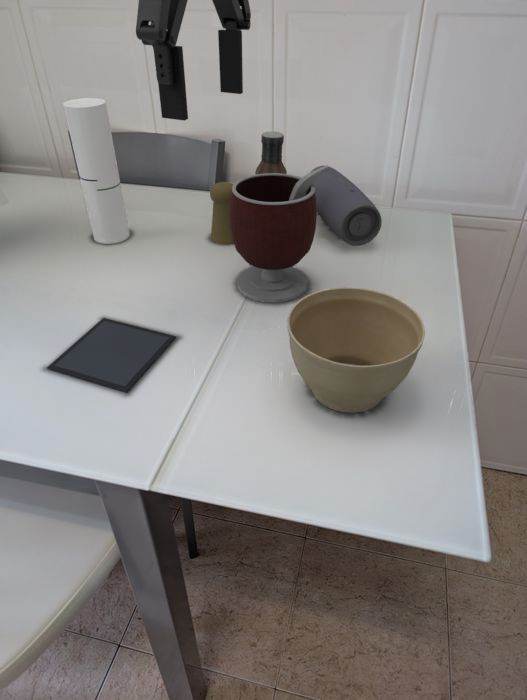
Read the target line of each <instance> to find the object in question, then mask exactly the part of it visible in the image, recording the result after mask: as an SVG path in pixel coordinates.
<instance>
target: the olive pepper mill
mask: <svg viewBox="0 0 527 700" xmlns="http://www.w3.org/2000/svg"><path fill="white" fill-rule="evenodd" d="M233 184H234V183H231V182H228V181H220V182H215V183H214V184H212V186H211V187H210V190H209V196H210V199H211V201H212V216H211V217H212V218H211V229H210V231H211V233H210V240H211V241H212V242H213V243H215V244H218V245H219V244H220V245H231V244H234V242H233V239H232V234H231V229H230V201H231V194H232V186H233Z"/></svg>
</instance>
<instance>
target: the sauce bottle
mask: <svg viewBox="0 0 527 700" xmlns="http://www.w3.org/2000/svg"><path fill="white" fill-rule="evenodd" d="M284 140H285V136H284V134H283V133H282V132H281V131H275V130H273V131H265V132H262V133H261V139H260V141H261V155H260V156H261V161H260V162H259V164H257V165H258V166H257V167H256V169H255V172H254V175H257V174H265V173H280V174H288V172H287V169H286V167H285V164H284V163H283V145H284V142H285V141H284Z"/></svg>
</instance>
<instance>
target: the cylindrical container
mask: <svg viewBox="0 0 527 700" xmlns="http://www.w3.org/2000/svg"><path fill="white" fill-rule="evenodd" d="M62 106H63V111H64V115H65V119H66V123H67V128H68V132H69V136H70V141H71V145H72V149H73V155H74V158H75V162H76V167H77V170H78V176H79V180H80V183H81V189H82V193H83V196H84V202H85V206H86V210H87V214H88V215H87V216H88V219H89V223H90V228H91V231H92V237H93V240H94V241H95V242H96V243H98V244H105V245H109V244H110V245H112V244H118V243H121V242H124V241H125V240H127V239H128V238H129V237H130V228H129V222H128V217H127V211H126V207H125V202H124V195H123V188H122V184H121V178H120V172H119V168H118V162H117V157H116V156H117V155H116V152H115V151H116V150H115V144H114V141H113V140H114V139H113V134H112V130H111V129H112V128H111V122H110V118H109V112H108V106H107V101H106V100H105V99H103V98H99V97H98V98H96V97H84V98H83V97H82V98H75V99H69V100H66V101H64V102H63V103H62Z"/></svg>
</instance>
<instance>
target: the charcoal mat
mask: <svg viewBox="0 0 527 700" xmlns="http://www.w3.org/2000/svg"><path fill="white" fill-rule="evenodd" d="M176 338H177V336H176V335H172V334H169V333H164V332H160V331H157V330H154V329H150V328H145V327H141V326H137V325H133V324H131V323H126V322H122V321H117V320H113V319H110V318H106V317H103V318H101V319H100V320H99V321H98V322H97V323H96V324H95V325H94V326H92V327H91V328H90V329H89V330H88V331H87V332H85V334H83V335H82V336H81V337H79V339H78V340H76V341H75V342H74V343H73V344H72V345H71V346H70V347H68V348H67V349H66V350H65V351H64V352H62V354H60V356H58V357H57V358H56V359H55V360H54V361H53V362H51V363H50V364H49V365H48V366H46V368H47V370H50V371H53V372H56V373H59V374H64V375H66V376H69V377H73V378H76V379H79V380H82V381H86V382H89V383H93V384H96V385H100V386H103V387H106V388H109V389H112V390H115V391H119V392H123V393H126V394H127V393H128V392H130V390H131V389H132V388H133V387H134V386H135V384H137V382H138V381H139V380H140V379H141V378H142V377H143V375H145V373H146V372H147V371H148V370H149V369H150V368H151V367H152V365H153V364H154V363H155V362H156V361H157V360H158V359H159V358H160V356H161V355H163V353H164V352H165V351H166V350H167V349H168V348H169V346H170V345H171V344H172V343H173V342H174V341H175V340H176Z"/></svg>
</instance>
